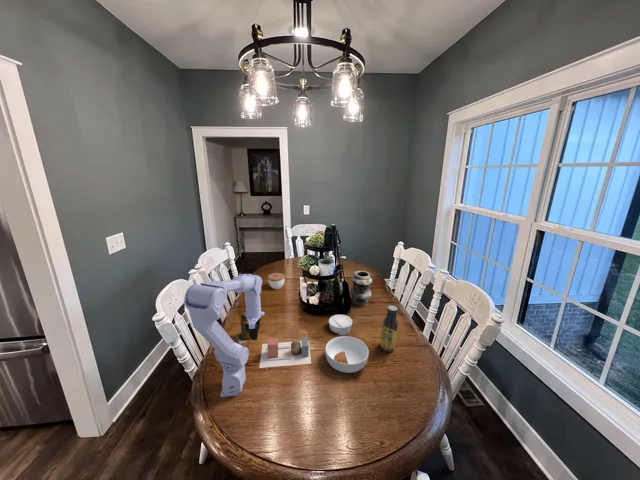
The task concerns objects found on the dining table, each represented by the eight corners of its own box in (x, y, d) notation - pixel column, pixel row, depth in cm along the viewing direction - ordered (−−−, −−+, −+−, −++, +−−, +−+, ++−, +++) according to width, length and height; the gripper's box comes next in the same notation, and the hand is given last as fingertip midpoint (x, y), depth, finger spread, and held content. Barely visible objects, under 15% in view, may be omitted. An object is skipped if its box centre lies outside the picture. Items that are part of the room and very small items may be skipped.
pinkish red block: (278, 357, 104) (277, 344, 102) (268, 357, 103) (267, 345, 102) (278, 350, 108) (277, 337, 106) (268, 351, 107) (268, 338, 106)
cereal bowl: (373, 358, 106) (374, 344, 104) (358, 387, 92) (358, 371, 90) (336, 344, 114) (337, 330, 112) (317, 369, 100) (317, 353, 98)
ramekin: (324, 333, 122) (324, 323, 120) (334, 321, 131) (334, 312, 130) (346, 340, 117) (347, 330, 115) (355, 327, 126) (355, 317, 125)
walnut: (301, 355, 105) (300, 347, 104) (291, 356, 105) (291, 347, 104) (300, 348, 109) (300, 340, 108) (291, 349, 108) (290, 341, 107)
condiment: (258, 337, 118) (256, 314, 115) (239, 344, 114) (237, 320, 110) (252, 329, 124) (251, 307, 121) (235, 335, 120) (232, 312, 116)
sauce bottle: (377, 347, 112) (380, 306, 107) (385, 341, 116) (389, 301, 111) (389, 355, 108) (393, 313, 102) (398, 348, 112) (402, 308, 106)
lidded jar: (266, 285, 170) (265, 272, 168) (282, 282, 175) (281, 269, 172) (270, 292, 161) (270, 278, 159) (287, 288, 166) (286, 275, 163)
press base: (311, 366, 101) (311, 352, 99) (259, 371, 99) (258, 357, 97) (308, 343, 115) (308, 330, 113) (262, 346, 112) (261, 333, 110)
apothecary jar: (371, 308, 143) (373, 278, 139) (349, 306, 145) (350, 277, 140) (370, 297, 155) (372, 270, 150) (350, 296, 157) (351, 268, 152)
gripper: (261, 313, 94) (263, 344, 98) (265, 294, 108) (266, 322, 112) (242, 314, 93) (244, 346, 97) (247, 295, 107) (250, 323, 111)
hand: (255, 333), depth 104 cm, fingers open, 7 cm apart
